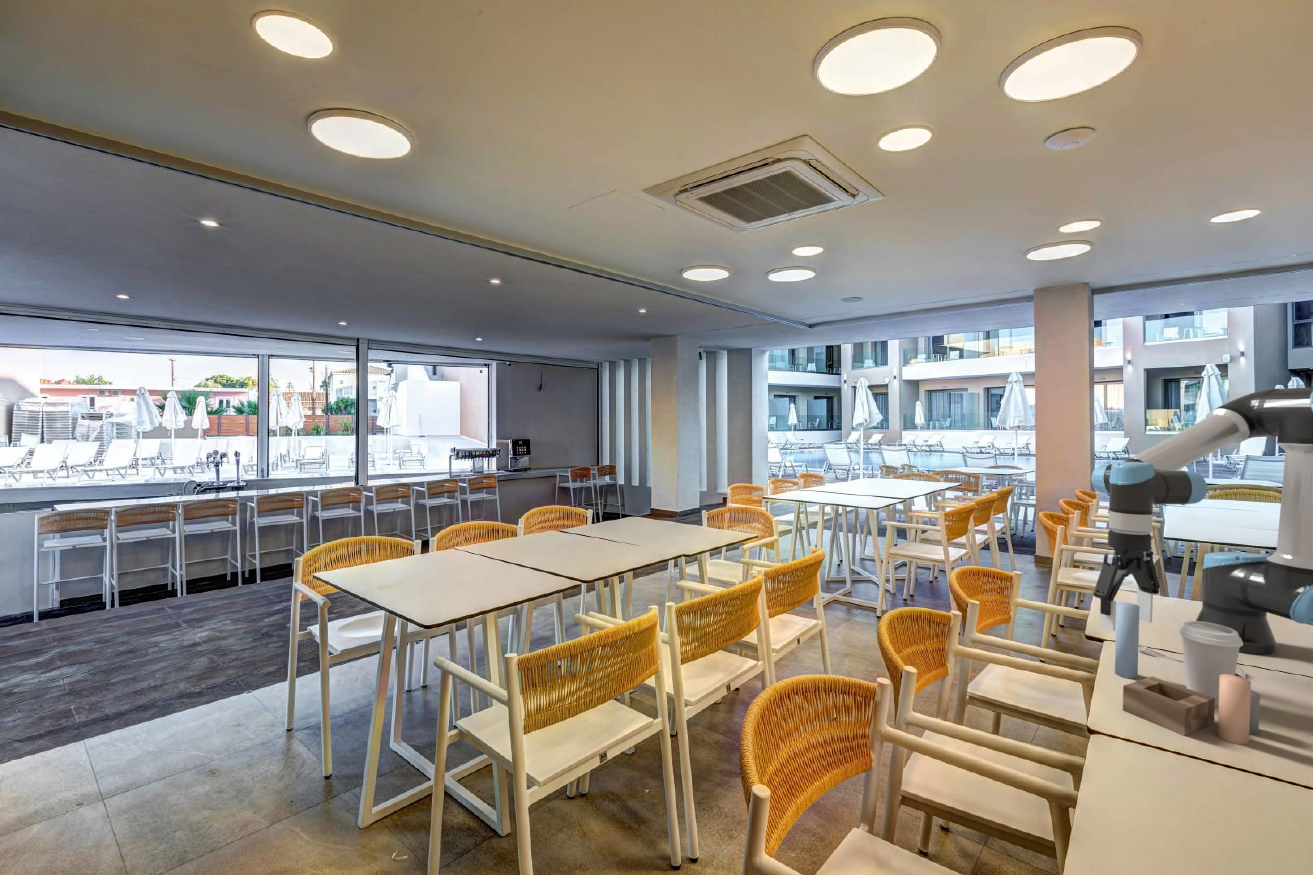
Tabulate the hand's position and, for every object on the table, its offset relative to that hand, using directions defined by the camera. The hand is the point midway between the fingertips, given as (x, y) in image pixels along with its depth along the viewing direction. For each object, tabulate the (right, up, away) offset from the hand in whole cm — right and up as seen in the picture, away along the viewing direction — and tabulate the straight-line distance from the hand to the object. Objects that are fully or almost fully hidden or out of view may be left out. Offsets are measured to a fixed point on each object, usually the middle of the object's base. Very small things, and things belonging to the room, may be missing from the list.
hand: (1126, 624), depth 130 cm
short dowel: (+4, -12, -22) cm, 25 cm away
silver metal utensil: (+20, -12, +7) cm, 24 cm away
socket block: (-6, -12, -17) cm, 22 cm away
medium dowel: (-1, -13, -25) cm, 28 cm away
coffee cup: (+8, -12, -11) cm, 18 cm away
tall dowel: (0, -12, +1) cm, 12 cm away
